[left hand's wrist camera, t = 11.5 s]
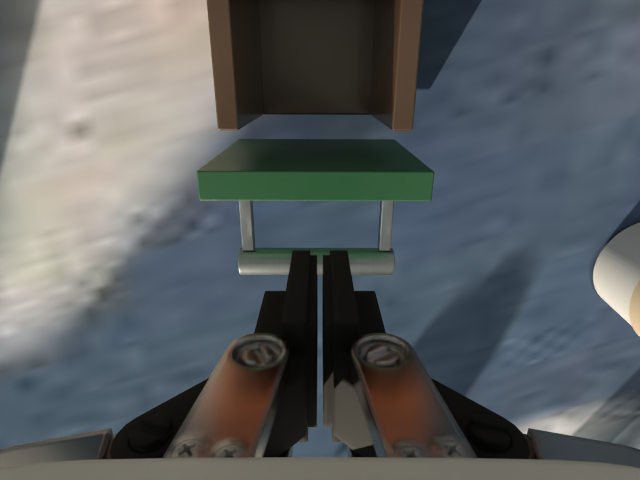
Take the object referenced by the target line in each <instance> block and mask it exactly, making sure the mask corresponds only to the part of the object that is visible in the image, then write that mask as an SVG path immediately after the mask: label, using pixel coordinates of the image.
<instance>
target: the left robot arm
mask: <svg viewBox="0 0 640 480" xmlns="http://www.w3.org/2000/svg"><path fill="white" fill-rule="evenodd" d="M316 426H317V255H310V250H293V251H292V257H291V263H290V269H289V275H288V282H287V288H286V291H265V294H264V298H263V302H262V305H261V309H260V313H259V317H258V321H257V325H256V329H255V332H254V334H248V335H245V336H243V337H240V338H238V339H237V340H235V341H234V342H232V343H231V344H230V345H229V346H228V348H227V349H226V351H225V352H224V354H223V356H222V357H221V359H220V361H219V363H218V364H217V366H216V368H215V369H214V371H213V373H212V374H211V376H210V378H208V379H206V380H205V381H203V382H201V383H199V384H197V385H195V386H194V387H192V388H190V389H188V390H186V391H184V392H183V393H181V394H179V395H177V396H175V397H173V398H172V399H170V400H168V401H166V402H164V403H162V404H161V405H159V406H157V407H155V408H153V409H151V410H150V411H148V412H146V413H144V414H142V415H140V416H139V417H137V418H135V419H134V420H132V421H131V422H129V423H128V424H126V425H125V426H124V427H123V428H122V429H121V430H120V431H119V432H118V433H117V434H113V433H112V429H111V428H110V429H105V430H99V431H93V432H88V433H82V434H77V435H71V436H65V437H60V438H54V439H48V440H43V441H37V442H31V443H26V444H20V445H15V446H11V447H8V448H4V449H1V450H0V480H640V450H639V449H636V448H632V447H629V446H625V445H620V444H614V443H609V442H603V441H597V440H592V439H586V438H580V437H575V436H569V435H563V434H558V433H552V432H547V431H541V430H535V429H530V428H529V429H528V433H527V434H523V433H522V432H521V431H520V430H519V429H518V428H517V427H516V426H515V425H514V424H512V423H511V422H509V421H508V420H506V419H505V418H503V417H501V416H500V415H498V414H496V413H494V412H492V411H490V410H489V409H487V408H485V407H483V406H481V405H479V404H478V403H476V402H474V401H472V400H470V399H468V398H467V397H465V396H463V395H461V394H459V393H457V392H456V391H454V390H452V389H450V388H448V387H446V386H445V385H443V384H441V383H439V382H437V381H435V380H434V379H432V378H430V376H429V374H428V373H427V371H426V369H425V368H424V366H423V364H422V363H421V361H420V359H419V357H418V356H417V354H416V352H415V351H414V349H413V348H412V346H411V345H410V344H409V343H408V342H406V341H405V340H403V339H402V338H400V337H397V336H395V335H392V334H386V332H385V329H384V325H383V321H382V317H381V313H380V309H379V305H378V302H377V298H376V294H375V291H354V288H353V282H352V275H351V269H350V263H349V257H348V251H347V250H330V255H323V426H324V427H332V442H343V443H345V444H346V445H347V446H348V449H347V454H348V457H292V454H293V449H292V446H293V445H294V444H295V443H297V442H308V427H316Z"/></svg>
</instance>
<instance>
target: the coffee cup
mask: <svg viewBox="0 0 640 480" xmlns="http://www.w3.org/2000/svg"><path fill="white" fill-rule="evenodd" d="M593 282H594V286H595V289H596V291H597V293H598V294H599V295H600V297H601V298H602V299H604V300H605V301H606V302H607V303H608V304H609V305H610V306H611V307H612V308H613V309H614V310H615V311H616V312H618V313H619V314H620V315H621V316H622V317H623V318H624V319H625V320H626V321H627V322H628V323H629V324H630V325H632V327H633V329H634V330H635V332H636V333H637V334H638V335H639V336H640V223H637V224H634V225H632V226H630V227H628V228H626V229H625V230H623V231H622V232H620V233H619V234H617V235H616V236H615V237H614V238H613V239H612V240H611V241H610V242H609V243H608V244H607V245H606V246H605V247H604V249H603V250H602V251H601V253H600V255H599V257H598V259H597V261H596V263H595V267H594V272H593Z"/></svg>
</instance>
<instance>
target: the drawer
mask: <svg viewBox="0 0 640 480" xmlns="http://www.w3.org/2000/svg"><path fill="white" fill-rule="evenodd" d="M423 4H424V0H207V9H208V20H209V32H210V43H211V54H212V66H213V77H214V89H215V100H216V112H217V123H218V129H219V130H239V129H240V128H242V127H243V126H245V125H247V124H248V123H250V122H252V121H253V120H255V119H256V118H258V117H260V116H261V115H263V114H334V115H372V116H373V117H375V118H376V119H378V120H379V121H380V122H382V123H383V124H385V125H386V126H388V127H389V128H390V129H392V130H394V131H411V130H413V122H414V110H415V98H416V86H417V75H418V63H419V51H420V39H421V27H422V16H423ZM197 180H198V189H199V198H200V200H239V209H240V223H241V237H242V248H240V250H239V255H238V269H239V273H240V274H241V275H289V269H290V263H291V257H292V251H293V250H310V255H317V275H323V255H330V250H347V251H348V257H349V263H350V269H351V275H392V274H393V272H394V266H395V258H394V251H393V249H392V248H390V247H391V233H392V219H393V205H394V201H431V198H432V189H433V180H434V171H432V170H431V169H430V168H429V167H427V166H426V165H425V164H424V163H423V162H421V161H420V160H419V159H418V158H416V157H415V156H414V155H413V154H411V153H410V152H409V151H408V150H407V149H405V148H404V147H403V146H402V145H400V144H399V143H398V142H397V141H395V140H361V139H239V140H238V141H237V142H235V143H234V144H233V145H231V146H230V147H229V148H227V149H226V150H225V151H223V152H222V153H221V154H219V155H218V156H217V157H215V158H214V159H213V160H211V161H210V162H209V163H207V164H206V165H204V166H203V167H202V168H200V169H199V170H198V171H197ZM252 200H263V201H380V218H379V235H378V248H255V235H254V218H253V202H252Z"/></svg>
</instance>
